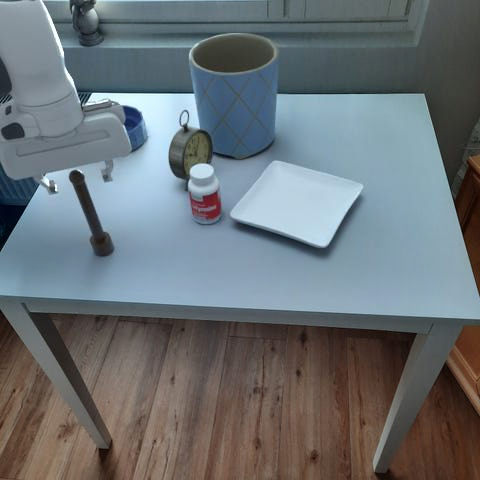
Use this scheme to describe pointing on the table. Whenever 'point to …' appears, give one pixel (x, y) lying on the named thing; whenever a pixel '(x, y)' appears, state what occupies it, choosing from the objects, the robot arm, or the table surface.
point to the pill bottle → (204, 194)
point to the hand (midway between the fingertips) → (81, 186)
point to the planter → (236, 91)
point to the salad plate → (297, 203)
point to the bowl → (134, 126)
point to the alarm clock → (189, 150)
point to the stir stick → (91, 216)
